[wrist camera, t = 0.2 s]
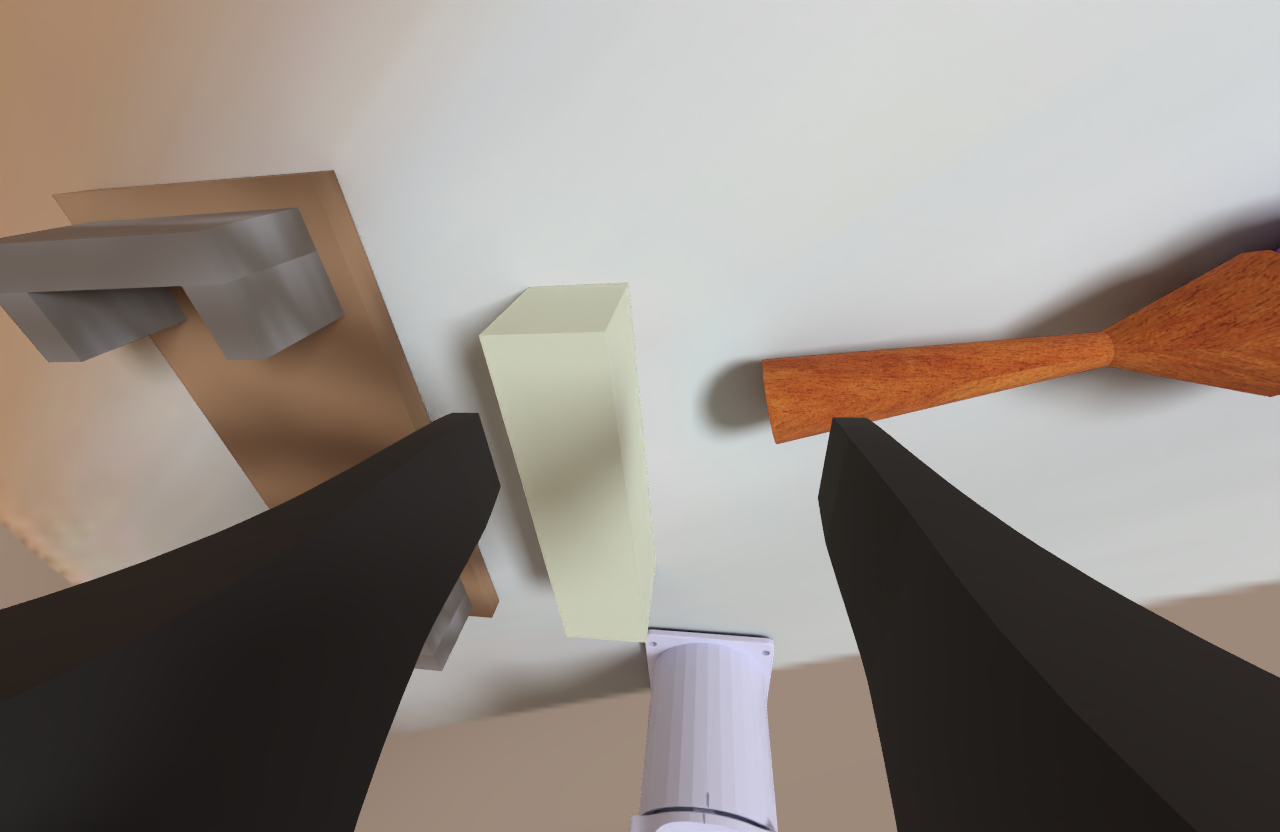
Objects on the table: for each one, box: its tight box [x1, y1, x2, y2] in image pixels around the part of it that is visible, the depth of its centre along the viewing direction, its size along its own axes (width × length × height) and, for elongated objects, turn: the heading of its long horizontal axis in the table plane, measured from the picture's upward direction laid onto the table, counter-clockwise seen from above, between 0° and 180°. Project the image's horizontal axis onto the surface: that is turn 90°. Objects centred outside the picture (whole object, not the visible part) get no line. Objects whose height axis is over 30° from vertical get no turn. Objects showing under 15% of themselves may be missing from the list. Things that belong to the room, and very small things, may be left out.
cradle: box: [0, 170, 499, 671], centre depth 22 cm, size 25×11×5 cm, turn 4°
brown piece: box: [762, 247, 1280, 444], centre depth 15 cm, size 6×6×20 cm
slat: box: [479, 282, 656, 643], centre depth 20 cm, size 16×4×5 cm, turn 5°
